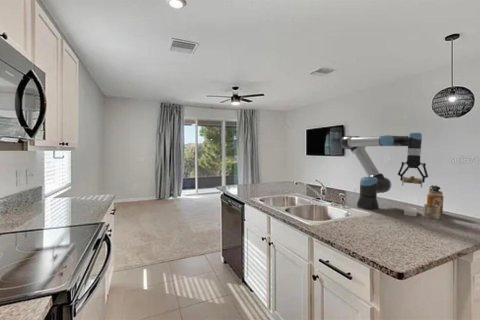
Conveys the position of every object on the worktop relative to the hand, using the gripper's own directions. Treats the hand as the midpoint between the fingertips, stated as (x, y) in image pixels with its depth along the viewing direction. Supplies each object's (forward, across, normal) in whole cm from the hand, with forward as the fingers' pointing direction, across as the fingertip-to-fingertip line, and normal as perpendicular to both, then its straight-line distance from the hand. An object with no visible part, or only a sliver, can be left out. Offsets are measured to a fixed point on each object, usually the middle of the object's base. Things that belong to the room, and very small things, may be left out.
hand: (411, 186), depth 168 cm
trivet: (+20, 0, 0) cm, 20 cm away
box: (+19, +12, 0) cm, 23 cm away
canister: (+20, +14, +13) cm, 27 cm away
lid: (-3, 0, 0) cm, 3 cm away
